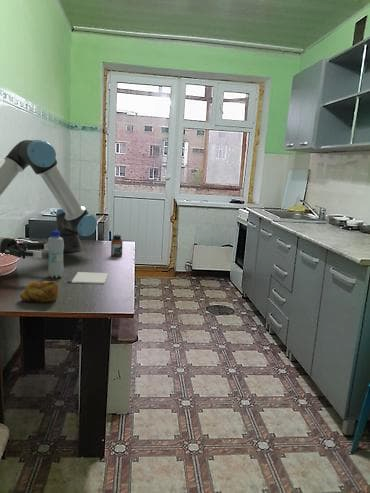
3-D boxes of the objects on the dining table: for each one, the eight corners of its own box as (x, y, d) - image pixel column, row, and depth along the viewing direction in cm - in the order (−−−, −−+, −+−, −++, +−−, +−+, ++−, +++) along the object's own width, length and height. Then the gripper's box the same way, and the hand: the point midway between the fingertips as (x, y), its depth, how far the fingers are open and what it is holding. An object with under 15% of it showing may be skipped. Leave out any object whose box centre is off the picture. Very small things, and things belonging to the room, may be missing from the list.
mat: (74, 273, 173) (74, 271, 172) (108, 274, 174) (108, 272, 174) (67, 282, 159) (67, 281, 159) (104, 283, 160) (104, 282, 160)
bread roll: (17, 304, 133) (17, 282, 131) (24, 295, 142) (23, 274, 140) (56, 304, 135) (56, 282, 133) (60, 295, 144) (60, 274, 143)
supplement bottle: (112, 254, 212) (112, 233, 210) (123, 254, 212) (123, 234, 210) (109, 256, 206) (110, 235, 204) (121, 257, 206) (121, 236, 204)
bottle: (57, 279, 162) (57, 232, 158) (44, 277, 164) (43, 230, 160) (67, 275, 168) (67, 230, 164) (54, 273, 170) (54, 228, 166)
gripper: (21, 249, 180) (64, 253, 177) (-15, 261, 156) (33, 267, 152) (21, 233, 179) (64, 237, 175) (-16, 243, 155) (33, 248, 151)
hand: (50, 251), depth 164 cm, fingers open, 13 cm apart
